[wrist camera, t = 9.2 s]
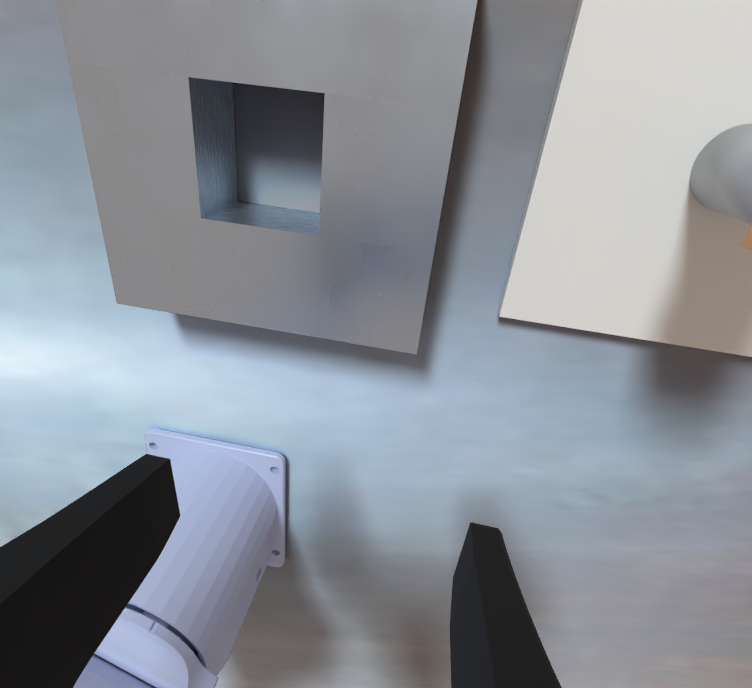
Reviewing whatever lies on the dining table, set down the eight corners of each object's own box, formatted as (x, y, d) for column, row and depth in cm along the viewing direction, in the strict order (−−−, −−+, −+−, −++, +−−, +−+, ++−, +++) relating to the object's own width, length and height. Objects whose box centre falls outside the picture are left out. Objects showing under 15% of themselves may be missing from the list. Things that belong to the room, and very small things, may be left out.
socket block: (422, 320, 19) (416, 354, 16) (160, 277, 20) (116, 303, 18) (483, -39, 13) (489, -74, 11) (111, -72, 14) (33, -111, 12)
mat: (809, 359, 17) (820, 368, 17) (498, 310, 18) (499, 316, 18) (1080, -38, 11) (1110, -45, 11) (599, -76, 12) (605, -84, 12)
